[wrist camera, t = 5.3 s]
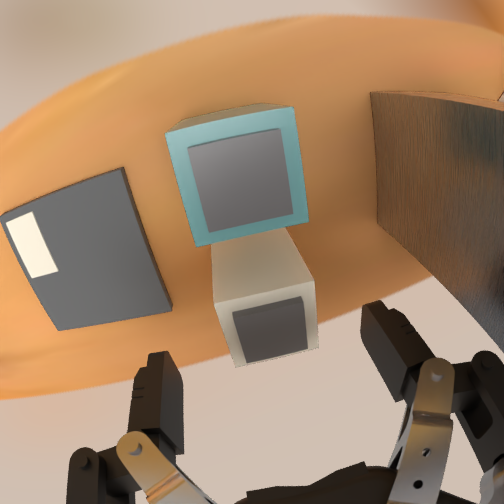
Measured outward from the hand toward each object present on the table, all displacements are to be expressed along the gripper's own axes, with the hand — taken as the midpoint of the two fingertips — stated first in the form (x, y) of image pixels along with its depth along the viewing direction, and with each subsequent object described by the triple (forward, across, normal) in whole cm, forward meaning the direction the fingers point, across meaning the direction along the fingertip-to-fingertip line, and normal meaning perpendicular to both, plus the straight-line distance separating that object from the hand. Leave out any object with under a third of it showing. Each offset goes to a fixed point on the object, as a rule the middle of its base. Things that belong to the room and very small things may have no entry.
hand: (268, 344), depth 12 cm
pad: (+7, +10, -2) cm, 12 cm away
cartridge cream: (+7, 0, 0) cm, 7 cm away
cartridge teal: (+7, 0, -6) cm, 9 cm away
